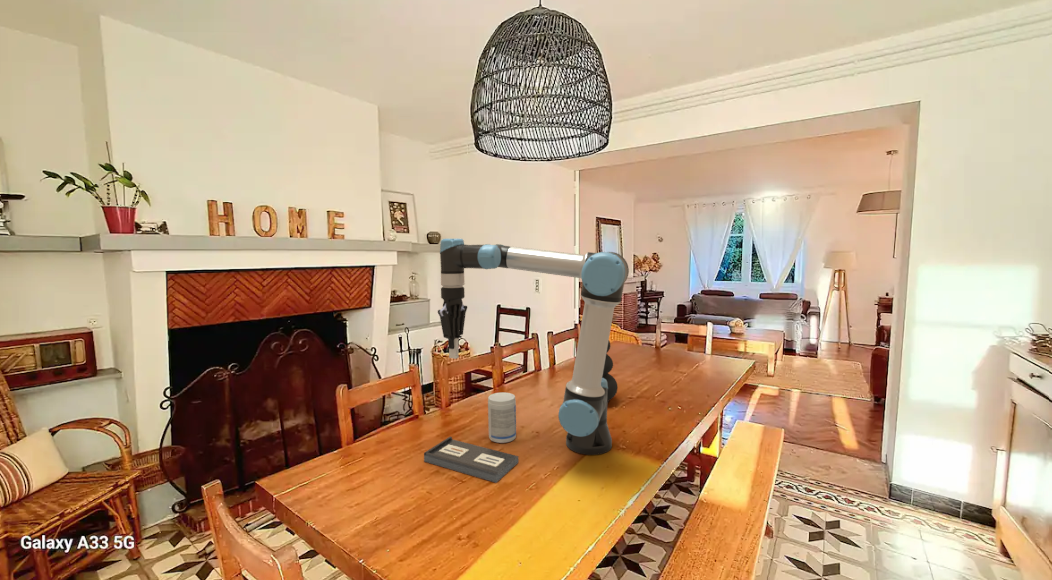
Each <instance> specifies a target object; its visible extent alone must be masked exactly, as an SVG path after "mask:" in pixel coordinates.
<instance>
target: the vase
mask: <svg viewBox="0 0 1052 580" xmlns="http://www.w3.org/2000/svg"><path fill="white" fill-rule="evenodd" d="M610 349H611V341H610V340H609V341H608V347H607V352H606V358H605V364H604V370H603V375H602V378H604V379H606V380H607V385H608V389H607V404H608V403H609V402H610V400H612V399H613V398H614V397H615V396H616V394H617V392H618V383H617V380H616V379H615V377H614V376H612V375H611V374H610V372H611V371H612V369H613V367H614V361H613V359H612V358H611V356H610V355H609V354H608V353H609V351H610Z"/></svg>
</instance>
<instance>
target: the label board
mask: <svg viewBox="0 0 1052 580" xmlns="http://www.w3.org/2000/svg"><path fill="white" fill-rule="evenodd" d="M448 444H449V445H453V446H457V447H461V448H465V449H468V450H469V451H468V452H467V453H465V454H464V455H462V456H461V457H456V456H452V455H449V454H445V453H442V452H439V450H441V449H442V448H444V447H445V446H447V445H448ZM482 453H483V454H487V455H491V456H495V457H499V458H502V459H505V460H504V461H503V462H502V463H501V464H500V465H499V466H497V467H492V466H489V465H485V464H481V463H478V462H474V461H473V460H474V459H476V458H477V457H478V456H480V455H481V454H482ZM423 462H424V463H428V464H432V465H434V466H438V467H441V468H444V469H449V470H451V471H455V472H458V473H462V474H465V475H468V476H472V477H475V478H479V479H482V480H484V481H485V480H486V481H489V482H492V483H495V484H497V483H498V482H499V481H500V480H501V479H502V478H503V477H505V475H506V474H508V473H509V472H510V471H511V470H512V469H513V468H514V467H515V466H516V465H517V464H519V456H518V455H515V454H511V453H507V452H503V451H499V450H496V449H492V448H488V447H483V446H479V445H476V444H471V443H468V442H464V441H460V440H458V439H457V440H456V439H453V436H449V437H446V438H445V439H444V440H442V441H440V442H439V443H437V444H435V445H434V446H432V447H431V448H429V449H428V450H426V451H425V452H423Z"/></svg>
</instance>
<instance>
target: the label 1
mask: <svg viewBox="0 0 1052 580" xmlns="http://www.w3.org/2000/svg"><path fill="white" fill-rule="evenodd" d="M468 451H469V450H468V449H465V448H461V447H457V446H453V445H449V444H448V445H447V446H445V447H444V448H442V449H441V450H439V452H442V453H445V454H449V455H452V456H456V457H461V456H462V455H464V454H465V453H467V452H468Z"/></svg>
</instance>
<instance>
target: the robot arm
mask: <svg viewBox="0 0 1052 580" xmlns="http://www.w3.org/2000/svg"><path fill="white" fill-rule="evenodd" d="M439 246H440V247H439V248H440V249H439V254H440V258H439V260H440V286H442V287H440V298H441V299H442V300H443V303H442V308H441V309H438V310H437V313H438V316H439V319H440V324H441V330H442V335H443V338H445V339H447V340H448V341H447V342H448V344H447V345H448V346H447V347H448V358H449V359H455V360H457V359H459V354H460V353H459V346H460V342H459V341H460V340H459V339H462V337H463V334H464V330H465V329H464V328H465V320H466V314H467V310H468V305H464V303H463V299H464V298H465V287H464V285H465V284H466V283H465V269H479V270H482V269H483V270H493V269H497V268H502V269H510V270H511V269H512V270H517V271H518V270H519V271H524V272H525V271H526V272H532V273H540V274H541V273H542V274H548V275H553V276H560V277H561V276H562V277H567V278H568V277H569V278H577V279H581V283H582V285H581V289H580V291H581V292H580V297H581V298H582V300H583V301H584V306H583V312H582V318H581V323H580V328H579V335H578V343H577V348H576V352H575V353H576V354H575V360H574V366H573V372H572V378H571V379H570V380H569V381H567V382H566V384H565V389H564V395H563V402H562V404H561V405H560V407H559V409H558V415H557V416H558V421H559V423H560V425H561V427H562V428H563V430H564V431H565V432H567V433H566V437H565V445H566V446H567V448H568V449H569V450H571V451H573V452H574V453H577V454H580V455H581V454H582V455H588V456H589V455H590V456H594V455H595V456H596V455H597V456H598V455H603V454H606V453H608V452H609V451H611V449H612V446H613V445H612V444H613V439H612V435H611V432H610V430H609V426H608V425H609V424H608V403H607V389H608V385H607V380H606V379H604V378H602V375H603V370H604V364H605V358H606V354H607V353H608V352H607V347H608V341H610V336H611V335H610V333H611V329H612V322H613V317H614V311H615V307H617V306H618V305H620V304H621V302H622V297H623V292H624V286H625V283H626V282H627V279H628V278H629V277H628V276H629V272H630V271H629V270H630V269H629V265H628V262H627V260H626V259H625V258H624V257H623V256H622V255H621V254H619V253H617V252H613V251H601V252H590V251H587V252H586V253H585V254H582V253H581V254H579V253H571V252H561V251H556V250H555V251H554V250H545V249H544V250H543V249H536V248H528V247H521V246H509V245H503V244H500V243H499V244H498V243H497V244H490V243H487V244H465V241H464V239H463V238H442V239H441V240H440V245H439ZM606 352H607V353H606Z"/></svg>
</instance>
